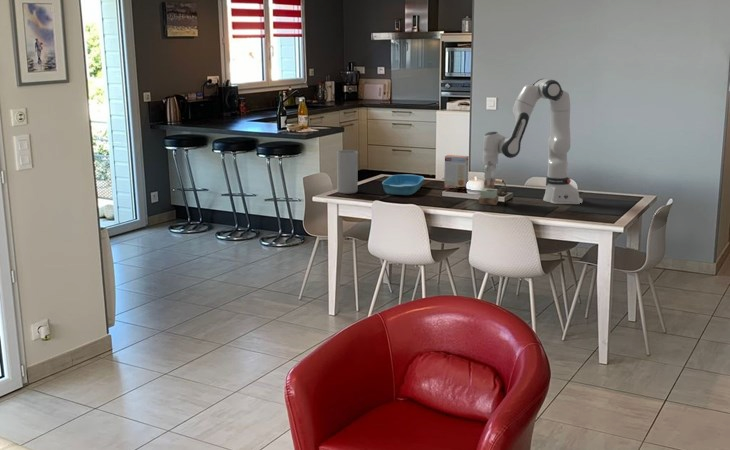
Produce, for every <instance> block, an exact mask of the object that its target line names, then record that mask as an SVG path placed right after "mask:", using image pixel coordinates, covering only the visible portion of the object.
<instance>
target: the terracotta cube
mask: <svg viewBox="0 0 730 450" xmlns="http://www.w3.org/2000/svg"><path fill="white" fill-rule="evenodd" d="M483 184H484V185H483V187H484V188H488V189H495V178H493V177H492V178H491V180H490V185H487V179H485V178H484V182H483Z"/></svg>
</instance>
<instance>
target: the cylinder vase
mask: <svg viewBox="0 0 730 450" xmlns="http://www.w3.org/2000/svg"><path fill="white" fill-rule="evenodd" d="M358 154H359V153H358V151H357V150H353V149H344V150H343V149H340V150H338V151H336V172H337V173H336V176H337V177H336V178H337V179H336V180H337V181H336V184H337V185H336V190H337V193H340V194H345V195H346V194H348V195H349V194H355V193H357V192H358V187H359V186H358V183H359V182H358V170H359V168H358V156H359V155H358Z"/></svg>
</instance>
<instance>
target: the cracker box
mask: <svg viewBox="0 0 730 450" xmlns="http://www.w3.org/2000/svg"><path fill="white" fill-rule="evenodd" d="M469 158H470V157H469V156H467V155H459V154H457V155H455V154H447V155H445V156H444V175H443V176H444V177H443V179H444V180H443V182H444V183H443V187H444V189H446V190H448V189H449V188H456V187H466V183H467V182H468V183H469ZM449 190H450V189H449Z"/></svg>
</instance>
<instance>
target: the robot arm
mask: <svg viewBox="0 0 730 450" xmlns="http://www.w3.org/2000/svg"><path fill="white" fill-rule="evenodd" d="M570 98H571V97H570V94H569V93H568V91H565V90H563V88H562V86H561V84H560V82H558V81H557V80H555V79H551V78H541V79H538V80H536V82H534V83H533V84H525V85H524V86H523V87H522V88H521V90H520V92H519V93H518V96H517V97H516V99H515V102H514V104H513V107H512V114H513V116H514V119H515V123H514V126H513V128H512V131H511V134H510V137H506V136H505V135H502V134H501V133H499V132H498V131H489V132H487V133H485V134H484V136H483V143H482V149H483V151H482V165H483V164H484V180H485V179H487V185H490V180H491V178H492V179H493V176H494V175H495V173H496V168H497V165H498V164H499V154H502V155H504V156H505V157H506V158H508V159H513V158H515V157H517V156H518V155H519V154H520V151H521V145H522V144H521V143H522V140H523V137H524V135H525V131H526V129H527V126H528V123H529V120H530V117H531V115H532V113H533V111H534V108H535V106H536V104H537V102H538V101H539V100H540V99H546V100H549V103H550V111H549V112H550V113H549V126H550V128H549V129H550V130H549V131H550V132H549V133H550V136H549V137H548V139H547V174H546V178H545V186H546V187H545V191H544V192H545V193H544V195H543V198H542V200H543V202H547V203H551V204H557V205H558V204H559V205H581V204H583V200H584V199H582V198H581V197H580V193H579V191H578V189H577V188H576V187H574V186H573V185H572V184H571V178H570V177H568V153H569V151H570V149H571V128H570V127H571V126H570V125H571V124H570V123H571V122H570V121H571V120H570V119H571V99H570ZM580 203H581V204H580Z"/></svg>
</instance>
